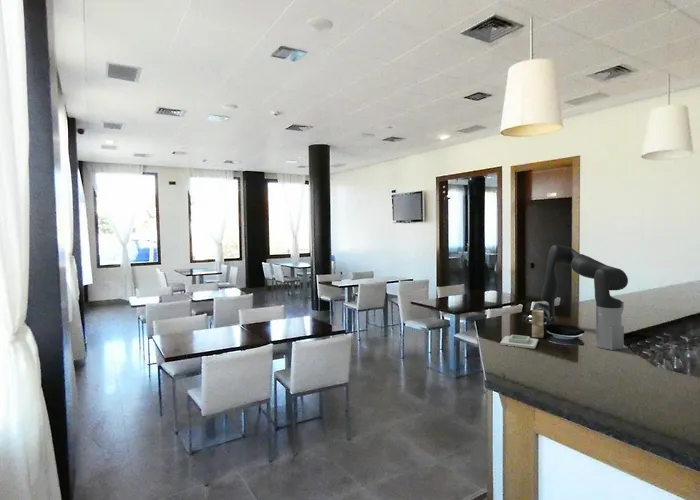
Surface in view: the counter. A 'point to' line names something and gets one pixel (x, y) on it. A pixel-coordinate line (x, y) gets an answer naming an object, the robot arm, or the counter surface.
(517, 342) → the base plate
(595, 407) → the counter surface
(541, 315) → the beige square block
